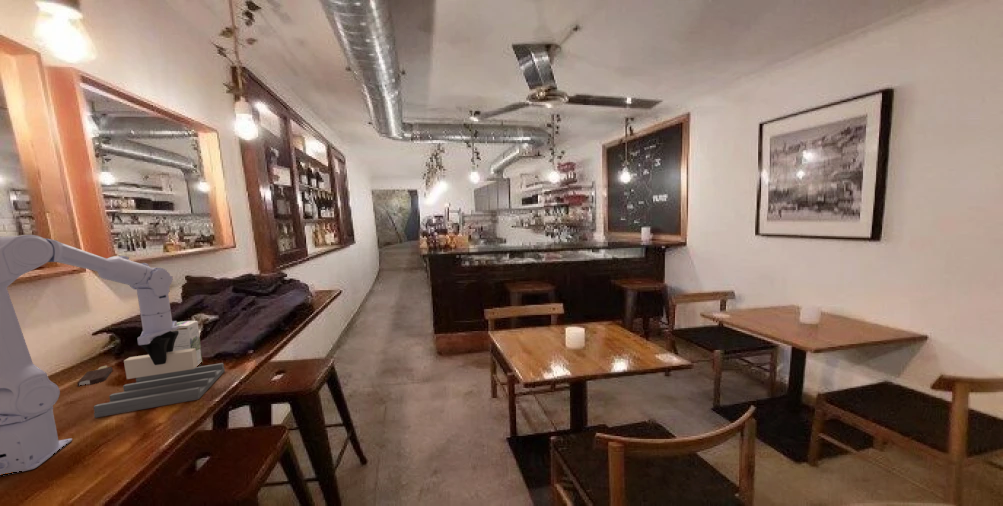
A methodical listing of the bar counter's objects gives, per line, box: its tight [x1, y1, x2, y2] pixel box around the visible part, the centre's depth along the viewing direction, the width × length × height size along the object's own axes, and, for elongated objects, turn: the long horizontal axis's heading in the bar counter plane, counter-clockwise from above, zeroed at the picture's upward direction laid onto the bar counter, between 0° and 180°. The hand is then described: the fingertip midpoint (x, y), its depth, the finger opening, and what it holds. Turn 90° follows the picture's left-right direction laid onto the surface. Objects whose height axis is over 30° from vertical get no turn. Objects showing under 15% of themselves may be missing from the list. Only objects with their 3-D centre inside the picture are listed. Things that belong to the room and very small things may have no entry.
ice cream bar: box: [76, 365, 114, 387], centre depth 107 cm, size 5×2×15 cm
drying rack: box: [93, 362, 226, 419], centre depth 95 cm, size 18×20×3 cm
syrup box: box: [172, 320, 203, 366], centre depth 110 cm, size 6×6×14 cm
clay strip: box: [123, 348, 199, 380], centre depth 94 cm, size 14×2×5 cm, turn 111°
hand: (163, 361), depth 94 cm, fingers closed on clay strip, 2 cm apart
